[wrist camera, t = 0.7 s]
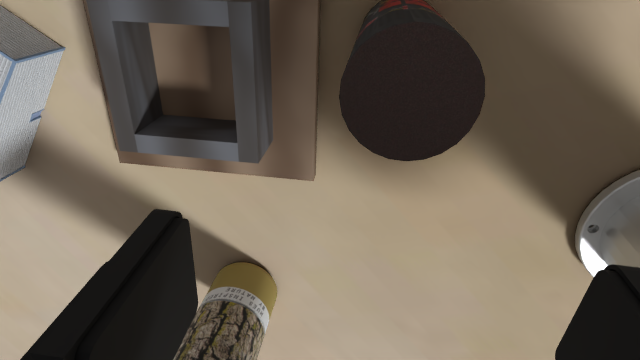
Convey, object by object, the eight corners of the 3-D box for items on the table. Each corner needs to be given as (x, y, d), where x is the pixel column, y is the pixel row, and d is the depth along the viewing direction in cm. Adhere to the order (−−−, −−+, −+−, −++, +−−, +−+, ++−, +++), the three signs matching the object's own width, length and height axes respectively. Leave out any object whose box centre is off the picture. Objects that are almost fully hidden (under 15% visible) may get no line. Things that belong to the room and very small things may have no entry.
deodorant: (455, 52, 30) (508, 121, 17) (383, 92, 32) (381, 181, 19) (418, -24, 28) (446, -12, 15) (344, 24, 30) (312, 72, 17)
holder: (322, -58, 28) (308, -63, 23) (315, 174, 36) (304, 208, 32) (79, -66, 30) (17, -71, 25) (127, 157, 38) (88, 186, 34)
